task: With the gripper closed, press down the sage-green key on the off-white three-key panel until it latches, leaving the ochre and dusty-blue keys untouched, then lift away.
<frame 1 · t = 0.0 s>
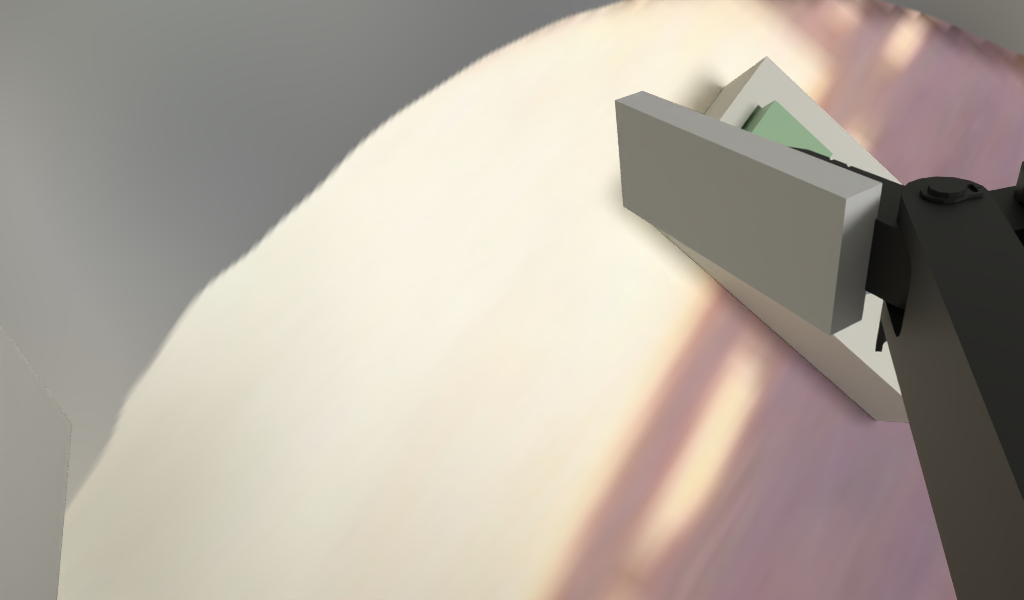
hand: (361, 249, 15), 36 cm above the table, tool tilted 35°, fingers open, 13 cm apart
key blue: (850, 241, 54), point 6 cm above the table, slide at 0.0 cm
key sage: (767, 164, 53), point 6 cm above the table, slide at 0.0 cm
key panel: (800, 254, 60), on the table
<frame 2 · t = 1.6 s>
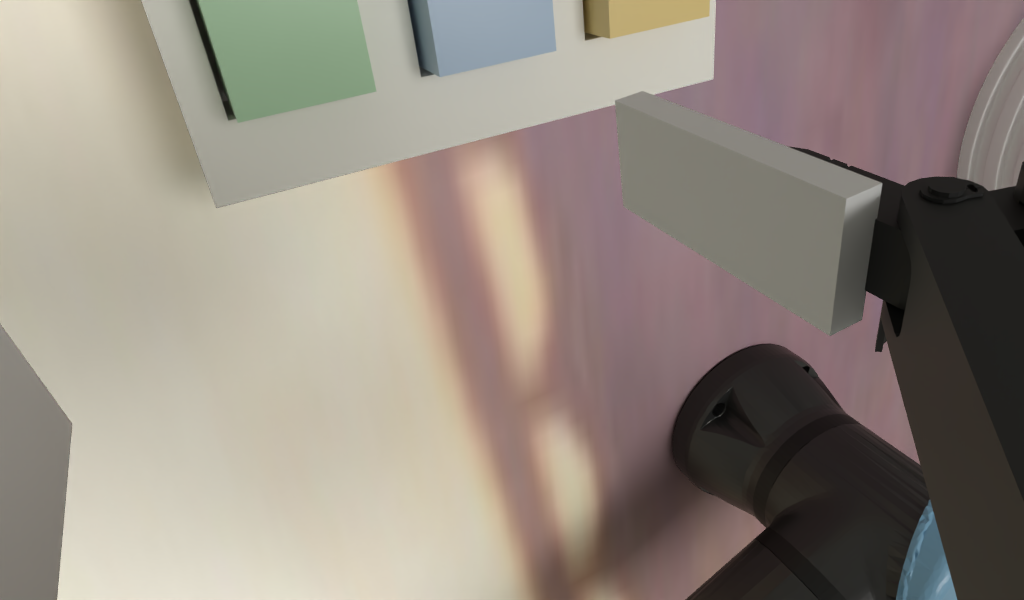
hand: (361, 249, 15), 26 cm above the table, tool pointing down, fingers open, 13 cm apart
key sage: (282, 27, 30), point 6 cm above the table, slide at 0.0 cm
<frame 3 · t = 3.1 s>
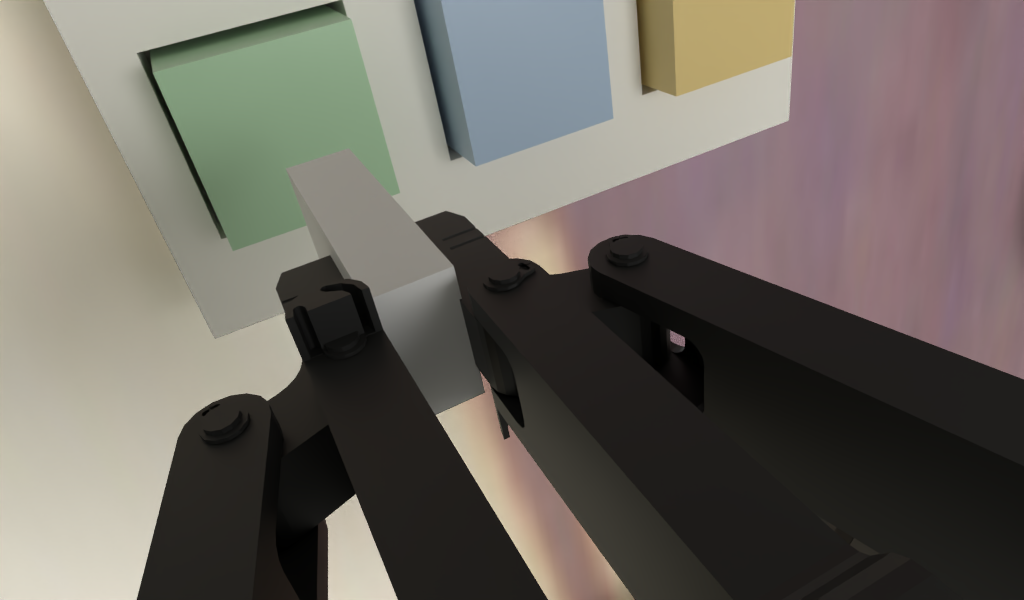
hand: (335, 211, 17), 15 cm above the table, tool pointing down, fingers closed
key blue: (511, 53, 27), point 6 cm above the table, slide at 0.0 cm
key sage: (279, 123, 24), point 6 cm above the table, slide at 0.0 cm
key panel: (453, 30, 31), on the table
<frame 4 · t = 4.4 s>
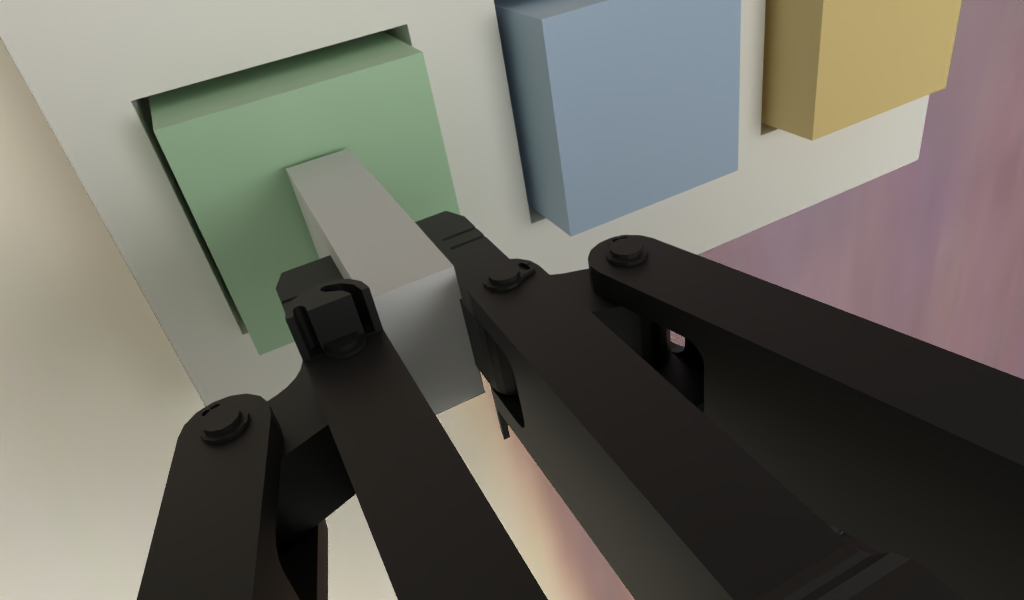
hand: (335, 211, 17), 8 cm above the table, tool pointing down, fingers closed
key ochre: (842, 11, 23), point 6 cm above the table, slide at 0.0 cm
key blue: (612, 89, 21), point 6 cm above the table, slide at 0.0 cm
key sage: (318, 184, 19), point 6 cm above the table, slide at 0.2 cm, touching gripper
key panel: (523, 53, 26), on the table
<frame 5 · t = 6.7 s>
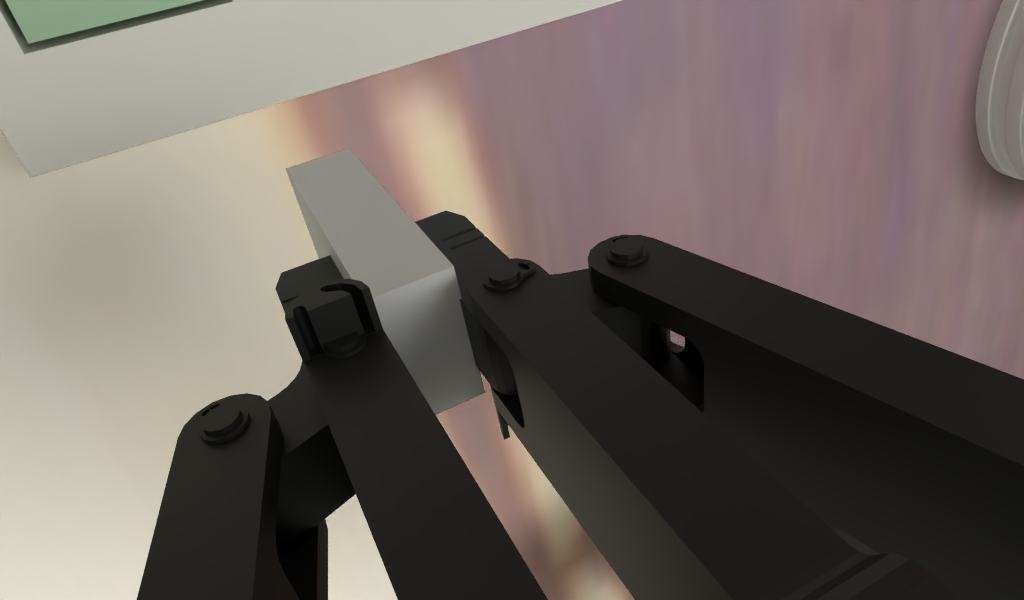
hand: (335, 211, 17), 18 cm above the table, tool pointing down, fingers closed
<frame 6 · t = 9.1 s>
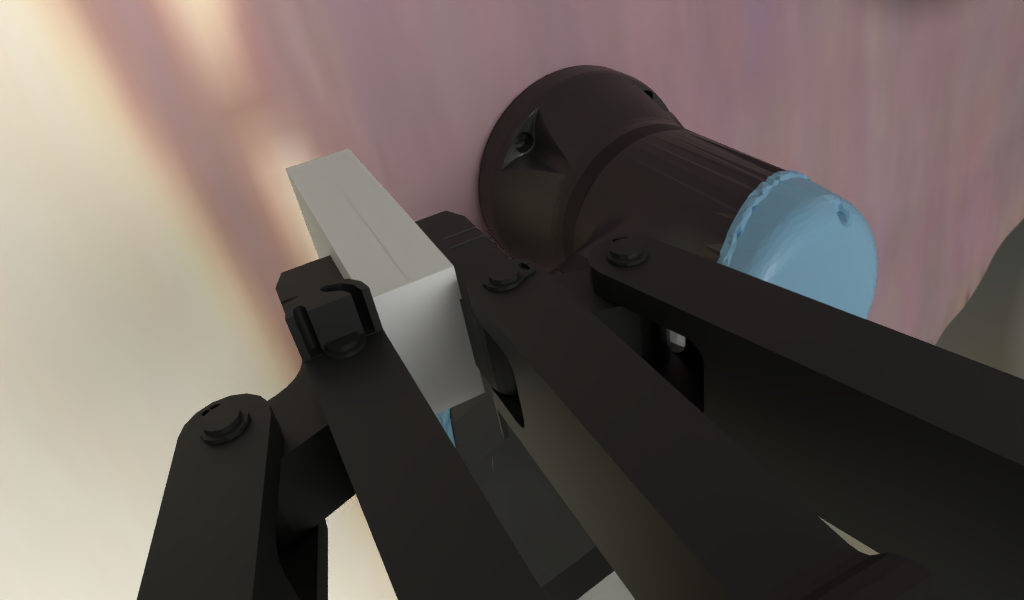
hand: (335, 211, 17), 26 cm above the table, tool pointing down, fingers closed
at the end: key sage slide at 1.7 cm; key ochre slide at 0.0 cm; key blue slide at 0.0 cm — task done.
